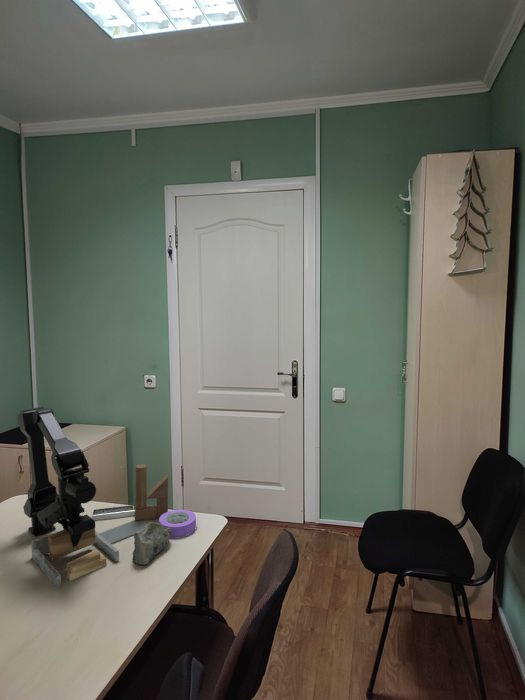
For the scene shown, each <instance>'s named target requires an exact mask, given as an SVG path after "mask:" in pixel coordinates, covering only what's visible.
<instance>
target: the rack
mask: <svg viewBox="0 0 525 700" xmlns="http://www.w3.org/2000/svg"><path fill="white" fill-rule="evenodd" d="M62 530H63V529H61V530H58V531H57V532H59V531H62ZM48 535H49V534H48ZM48 535H45V536H41V537H40V538H36V539H33V540H31V542H30V543H31V546H30V547H31V557H32V558H31V559H33V561H35V563H36V564H37V565H38V566H39V568H40V569H41V570H42V571H43V573H44V574H45V576H47V578H48V579H49V580H50V582H51V583H52V584H54V585H55V587H56V588H60V587H61V586H62V579H61V573H59V572H58V571H57V570H56V568H55V567H54V566H53V565H52V563H50V561H49V560H48V559H47V558H46V557H45V555H49V544H48ZM95 540H96V543H95V544H94V545H96V546H97V547H99V549H100V550H101V551H103V553H105V554H106V555H107V556H108V557H110V559H112V560H113V561H114V562H115V563H117V562H119V561H120V552H119V551H120V550H119V549H117V548H116V547H115V546H114V544H110V543H109V542H108V541H107V540H105V539H104V538H103V537H102V536H101V535H100V534H99V532H98V531H96V530H95Z"/></svg>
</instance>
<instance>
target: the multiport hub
mask: <svg viewBox="0 0 525 700" xmlns="http://www.w3.org/2000/svg"><path fill="white" fill-rule="evenodd" d="M127 517H129V518H130V517H135V504H131V505H123V506H115V507H106V508H97V509H93V511H92V514H91V518H92V519H94V520H95V522H96V521H103V520H111V519H119V518H127Z"/></svg>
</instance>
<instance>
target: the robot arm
mask: <svg viewBox="0 0 525 700" xmlns="http://www.w3.org/2000/svg"><path fill="white" fill-rule="evenodd" d="M16 420H17V424H18V426H19V430H20V431H21V432H22V434H23V435H24V436H25V437H26V441H27V449H28V457H29V465H30V474H31V484H30V486H29V488H28V490H27V499H26V501H25V503H24V505H23V513H24V515H26V516H27V517H28V518H29V519H31V526H29V527H28V529H27V530H28V531H29V532H30V533H31V534H32V536H33V537H37V536H40V535H44V534H46V533H50V532H53V531H55V530H56V529H57V527H56V526H55V525H56V524H57V523H58V524H59V525H61V526H62V528H63V529H62V530H64V529H65V530H66V531H67V532H70V537H71V541H72V545H73V547H76V546H77V545H78V543H79V540H80V538H81V536H82V534H83V532H86V531H89V530H91V529H94V528H95V529H96V521H95V520H94V519H92V516H90V515H88V514H83V515H81V514H82V513H85V508H84V507H83V506H82V504H87V503H89V502H91V501H92V500H93V499H94V497H95V496H96V493H97V487H96V485H95V484H94V483H93V482H92V481H90V480H89V477H88V476H87V475H85V474H87V473H90V468H89V466H90V465H89V462H88V459H87V458H86V456H85V453H84V451H83V450H82V449H81V448H80V447H79V446H78V444H77V442H75V441H72V440H69V439H68V437H67V436H66V434H65V432H64V431H63V429H62V427H61V426H60V424H59V422H58V421H57V419H56V417H55V413H54V410H53V408H49V407H47V408H44V406H38V407H33V408H26V409H21V410H20V413H19V414H17V416H16ZM45 440H46V442H47V443H48V445H49V447H50V449H51V452H52V453H51V457H50V461H51V464H52V468H53V470H54V471H55V474H56V475H57V487H58V488H57V487H56V486H55V485H53V483H52V482H51V481H50V480H49V471H48V463H47V453H46V445H45V444H46V443H45ZM74 468H75V469H74ZM57 489H58V490H57ZM57 491H58V492H57Z"/></svg>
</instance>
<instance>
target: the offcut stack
mask: <svg viewBox="0 0 525 700" xmlns="http://www.w3.org/2000/svg"><path fill="white" fill-rule="evenodd" d="M105 566H107V557H106V556H104V555H103V554H102V553H100V552H99V551H97V550H96V549H94V550H93V551H91V552H88V553H86V554H84V555H81V556H80V557H78V558H76V559H73V560H71V561H69V562H67V568H65V571H64V572H65V577H66V578H67V579H68V581H70V582H71V581H73V580H75V579H78V578H80V577H82V576H85V575H88V574H89V573H91V572H93V571H97V570H98V569H100V568H103V567H105Z"/></svg>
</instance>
